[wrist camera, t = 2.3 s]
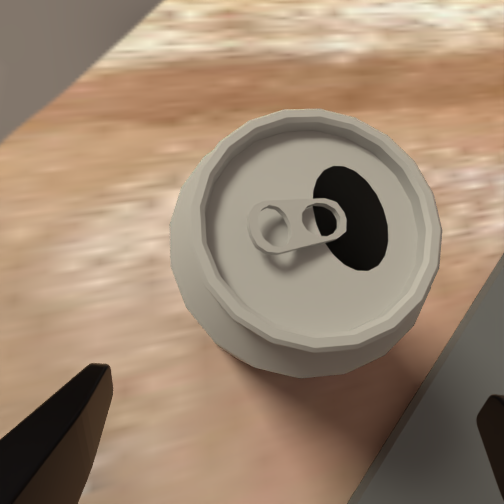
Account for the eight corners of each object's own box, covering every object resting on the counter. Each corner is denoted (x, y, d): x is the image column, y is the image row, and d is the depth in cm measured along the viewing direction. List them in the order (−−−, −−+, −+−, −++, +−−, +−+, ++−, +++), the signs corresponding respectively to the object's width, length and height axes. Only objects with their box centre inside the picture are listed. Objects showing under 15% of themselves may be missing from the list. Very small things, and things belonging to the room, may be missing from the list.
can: (348, 345, 20) (527, 334, 8) (212, 381, 19) (193, 429, 7) (309, 218, 21) (409, 61, 10) (184, 245, 20) (132, 105, 9)
